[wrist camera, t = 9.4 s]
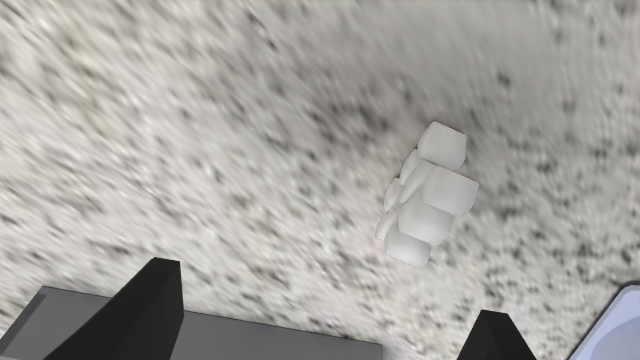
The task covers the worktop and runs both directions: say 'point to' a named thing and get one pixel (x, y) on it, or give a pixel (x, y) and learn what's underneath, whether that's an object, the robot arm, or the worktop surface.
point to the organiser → (193, 339)
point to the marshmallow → (426, 196)
